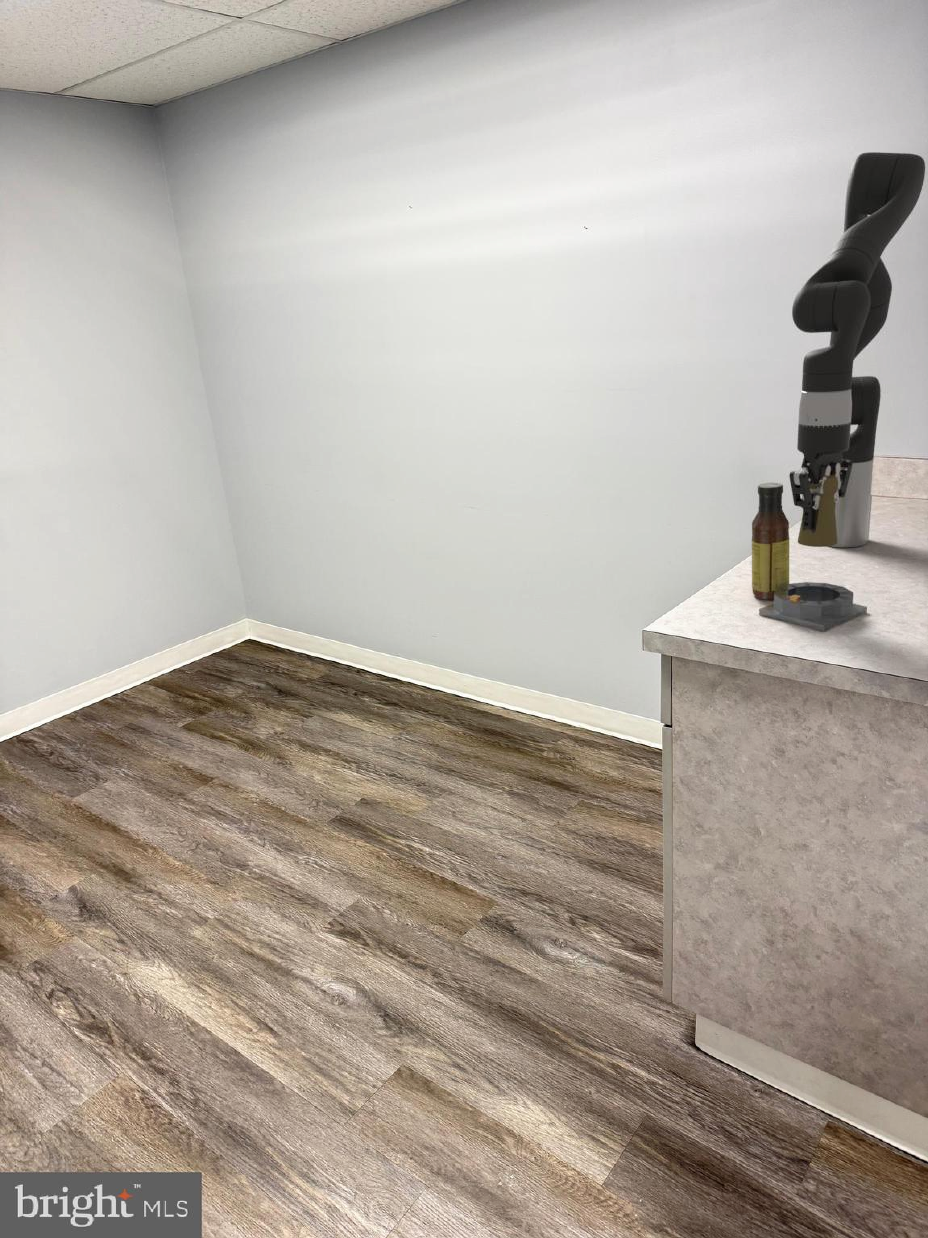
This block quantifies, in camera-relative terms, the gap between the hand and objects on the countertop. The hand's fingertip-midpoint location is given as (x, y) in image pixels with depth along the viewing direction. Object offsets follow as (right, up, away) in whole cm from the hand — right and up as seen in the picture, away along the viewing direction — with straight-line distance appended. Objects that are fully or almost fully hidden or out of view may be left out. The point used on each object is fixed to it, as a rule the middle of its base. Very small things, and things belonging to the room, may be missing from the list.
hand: (818, 528), depth 144 cm
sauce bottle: (-3, -11, +15) cm, 18 cm away
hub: (+1, -14, +5) cm, 15 cm away
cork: (0, -2, +1) cm, 2 cm away
